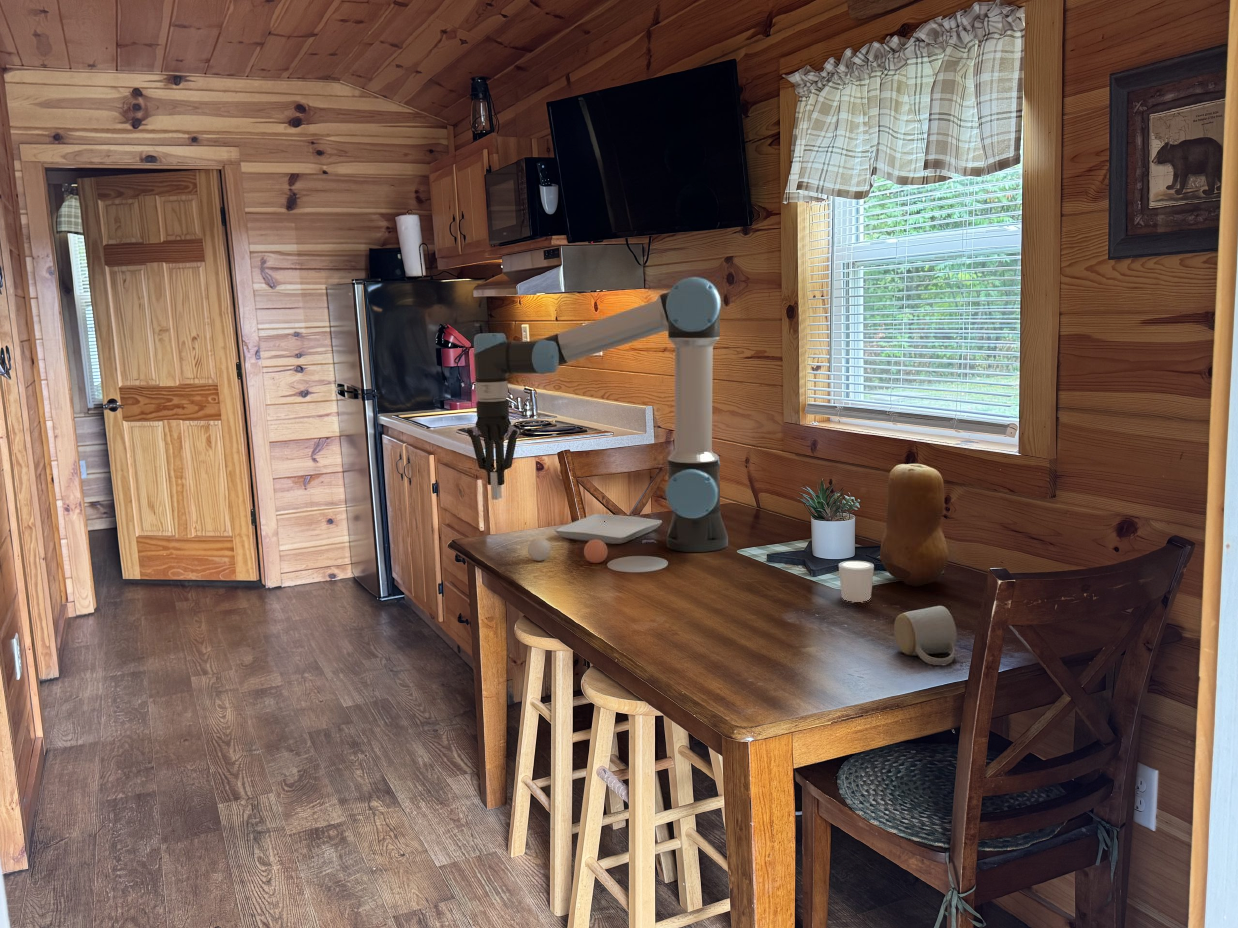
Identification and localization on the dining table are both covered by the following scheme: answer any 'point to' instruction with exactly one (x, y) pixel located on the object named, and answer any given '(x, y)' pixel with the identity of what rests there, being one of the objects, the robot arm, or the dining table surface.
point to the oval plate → (637, 564)
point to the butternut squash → (914, 525)
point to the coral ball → (595, 551)
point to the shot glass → (856, 580)
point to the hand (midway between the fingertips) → (496, 498)
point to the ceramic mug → (926, 634)
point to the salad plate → (608, 528)
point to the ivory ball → (539, 549)
